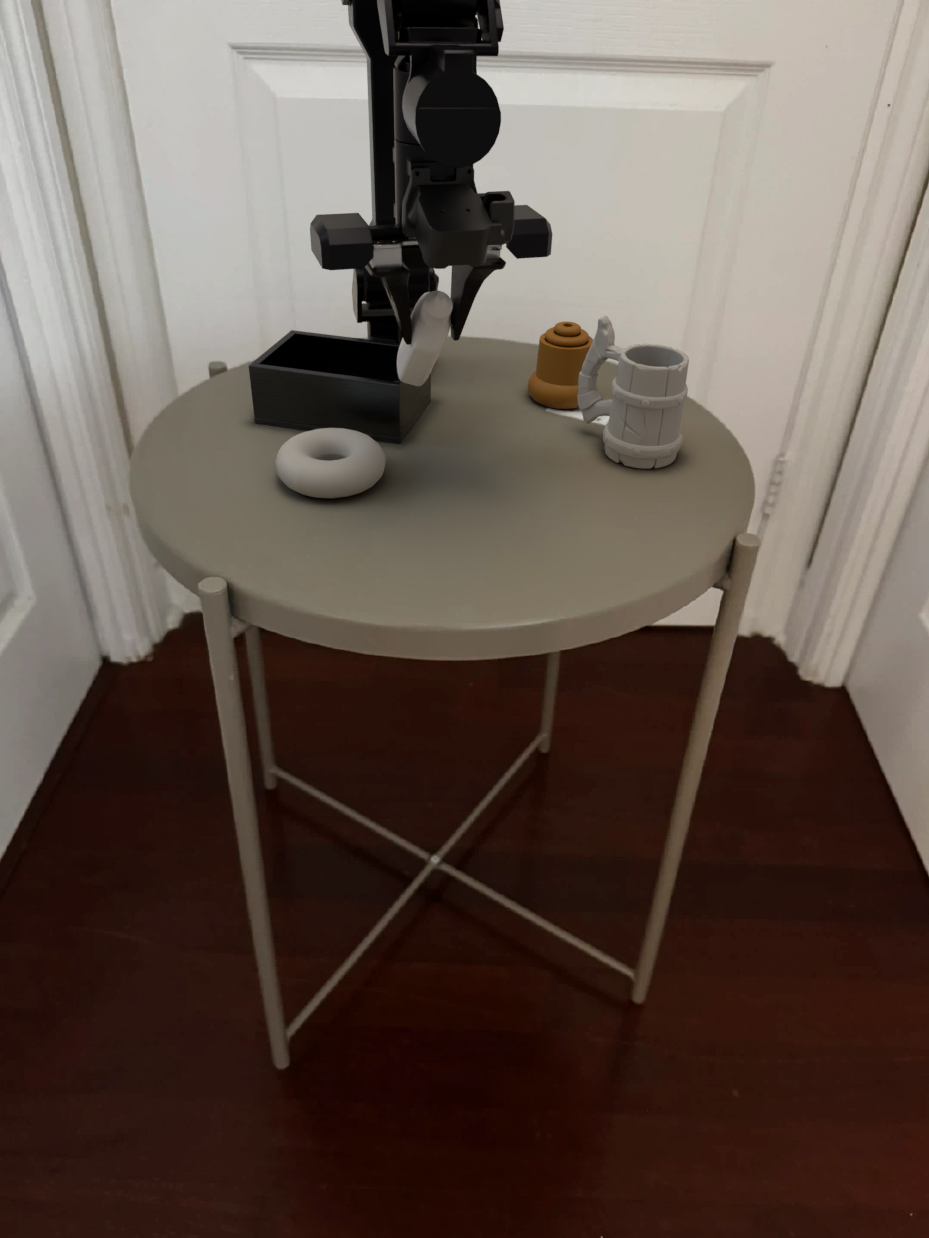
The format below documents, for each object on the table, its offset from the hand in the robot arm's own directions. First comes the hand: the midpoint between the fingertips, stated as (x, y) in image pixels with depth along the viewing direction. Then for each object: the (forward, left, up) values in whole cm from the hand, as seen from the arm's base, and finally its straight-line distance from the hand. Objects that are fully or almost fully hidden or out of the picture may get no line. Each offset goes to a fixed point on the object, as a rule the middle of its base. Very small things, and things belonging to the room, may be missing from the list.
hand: (431, 341), depth 80 cm
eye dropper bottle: (-5, -3, -4) cm, 7 cm away
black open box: (-10, -12, -13) cm, 21 cm away
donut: (+4, -8, -13) cm, 16 cm away
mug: (-11, +17, -13) cm, 24 cm away
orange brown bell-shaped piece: (-21, +9, -13) cm, 26 cm away
